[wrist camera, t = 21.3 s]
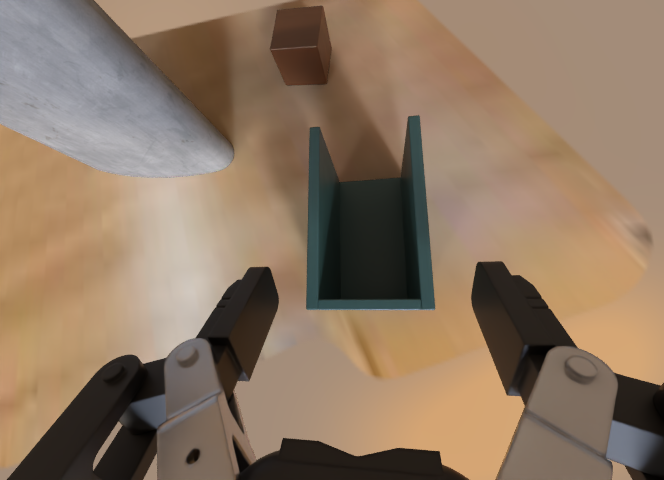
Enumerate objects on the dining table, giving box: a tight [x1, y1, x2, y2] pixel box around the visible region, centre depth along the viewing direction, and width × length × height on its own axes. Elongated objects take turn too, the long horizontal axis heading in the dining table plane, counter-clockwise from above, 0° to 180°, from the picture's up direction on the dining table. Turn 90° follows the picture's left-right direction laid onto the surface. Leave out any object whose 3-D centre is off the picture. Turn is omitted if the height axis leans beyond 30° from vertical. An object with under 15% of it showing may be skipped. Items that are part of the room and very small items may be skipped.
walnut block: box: [270, 6, 331, 85], centre depth 25 cm, size 4×4×4 cm
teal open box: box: [306, 115, 435, 310], centre depth 18 cm, size 10×6×8 cm, turn 0°
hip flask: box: [0, 0, 234, 177], centre depth 18 cm, size 16×4×20 cm, turn 85°
